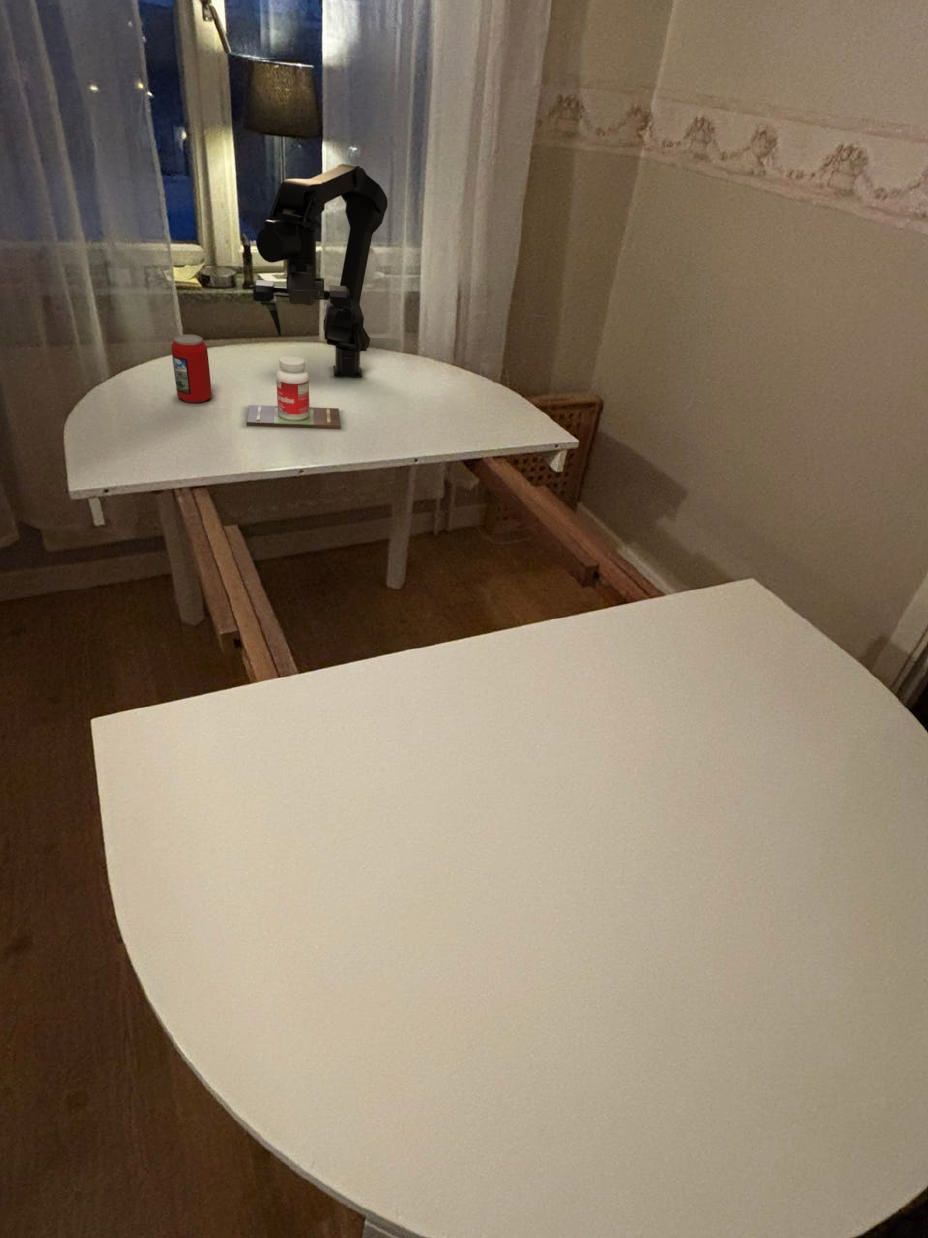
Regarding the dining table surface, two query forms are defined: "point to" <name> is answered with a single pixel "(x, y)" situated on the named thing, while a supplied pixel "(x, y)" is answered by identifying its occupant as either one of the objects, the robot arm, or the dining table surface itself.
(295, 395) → the pill bottle
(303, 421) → the brown and green board
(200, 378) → the beverage can
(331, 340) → the robot arm
